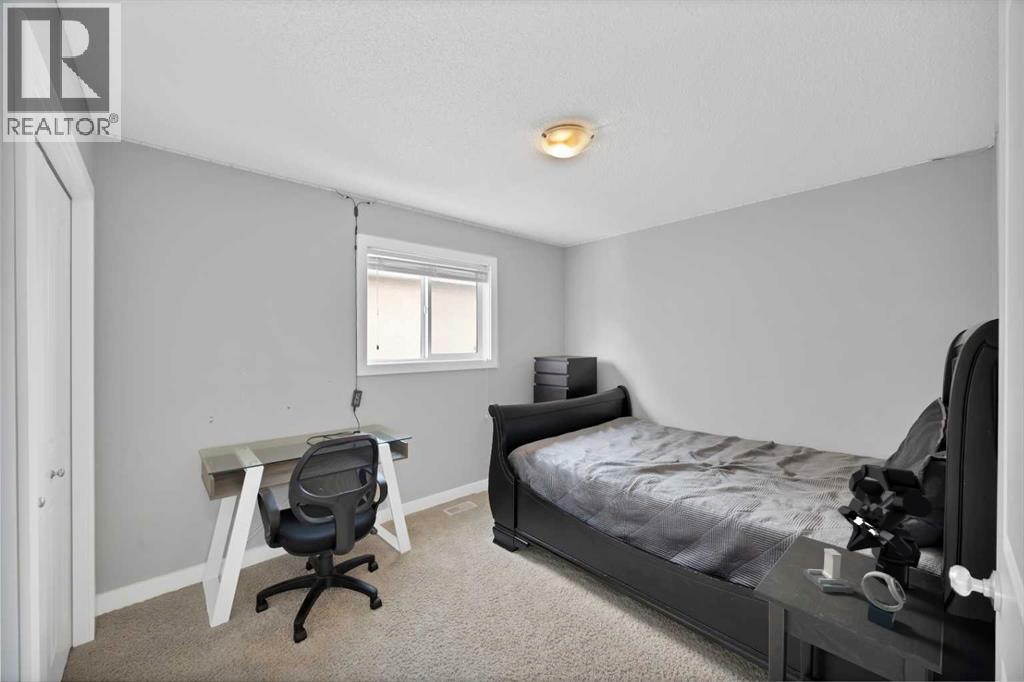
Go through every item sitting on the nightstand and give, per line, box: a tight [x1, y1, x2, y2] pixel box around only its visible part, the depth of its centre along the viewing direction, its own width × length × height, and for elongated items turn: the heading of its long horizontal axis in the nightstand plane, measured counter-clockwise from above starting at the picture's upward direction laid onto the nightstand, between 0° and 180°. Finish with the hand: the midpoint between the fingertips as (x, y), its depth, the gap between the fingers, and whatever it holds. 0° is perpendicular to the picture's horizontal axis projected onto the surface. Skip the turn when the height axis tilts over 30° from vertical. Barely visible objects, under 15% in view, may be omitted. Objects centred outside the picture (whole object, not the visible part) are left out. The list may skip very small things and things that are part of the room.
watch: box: [861, 570, 907, 631], centre depth 100 cm, size 6×8×11 cm
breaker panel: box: [802, 568, 855, 594], centre depth 115 cm, size 8×8×2 cm
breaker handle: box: [822, 548, 843, 579], centre depth 114 cm, size 3×3×7 cm
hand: (848, 549), depth 114 cm, fingers closed
